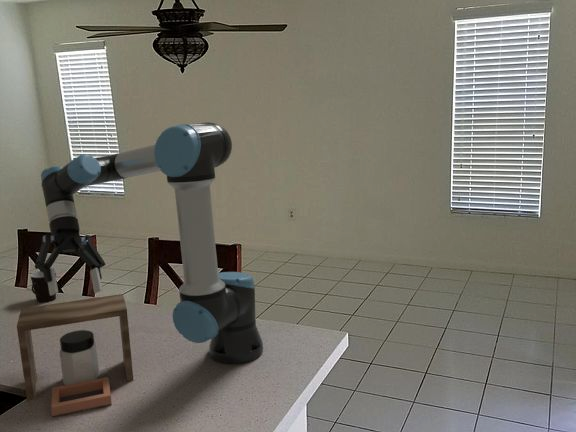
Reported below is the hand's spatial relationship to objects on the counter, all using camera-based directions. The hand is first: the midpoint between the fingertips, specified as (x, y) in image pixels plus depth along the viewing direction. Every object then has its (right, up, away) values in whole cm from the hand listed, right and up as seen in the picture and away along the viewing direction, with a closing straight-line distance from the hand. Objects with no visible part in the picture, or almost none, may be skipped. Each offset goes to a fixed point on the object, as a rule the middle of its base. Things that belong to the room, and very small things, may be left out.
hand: (77, 292), depth 147 cm
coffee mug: (-33, -10, +52) cm, 62 cm away
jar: (+3, -22, -5) cm, 23 cm away
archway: (+3, -22, -5) cm, 23 cm away
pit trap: (+7, -24, -15) cm, 29 cm away
